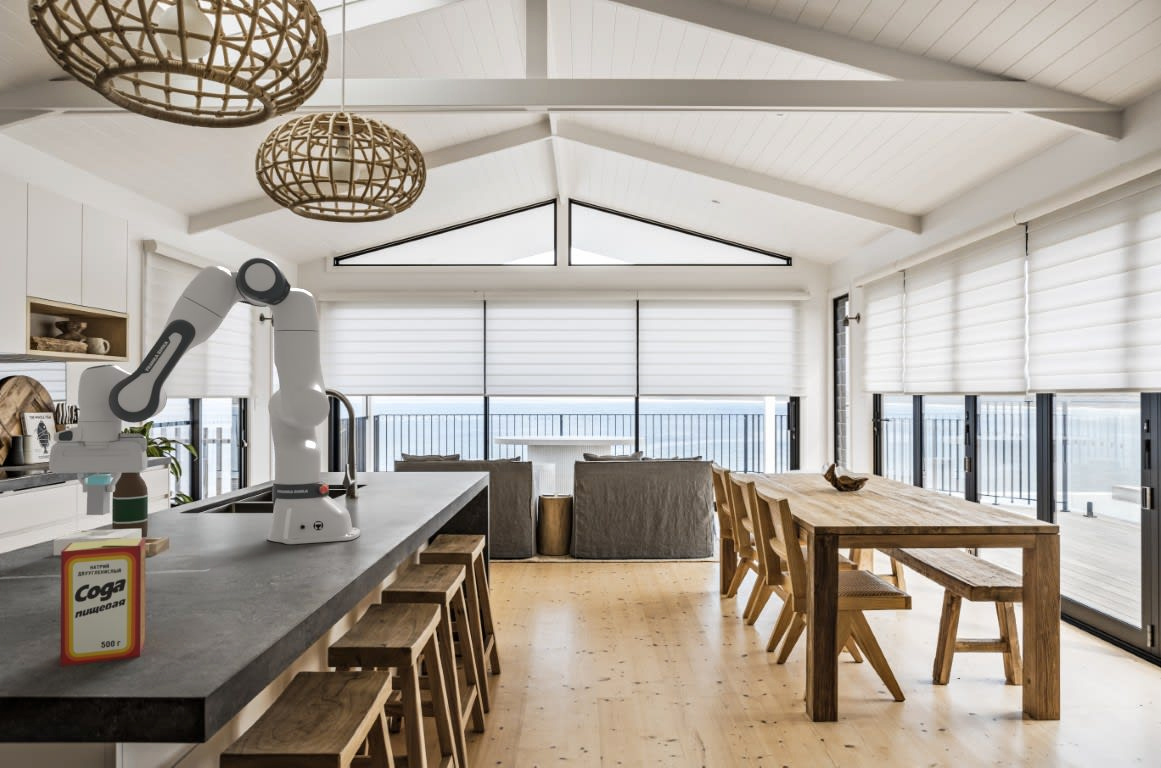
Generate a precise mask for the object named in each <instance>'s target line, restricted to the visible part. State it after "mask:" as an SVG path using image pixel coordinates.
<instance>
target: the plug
mask: <svg viewBox="0 0 1161 768" xmlns="http://www.w3.org/2000/svg"><path fill="white" fill-rule="evenodd" d="M111 479H112V477H111V474H93V475H88V477H87V481H88V484H87V492H86V495H87V496H86V516H104V515H106V514H110V507H111V502H110V500H111V492H106V491H105V489H106V485H107V484H110V482H111Z"/></svg>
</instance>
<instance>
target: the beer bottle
mask: <svg viewBox="0 0 1161 768" xmlns="http://www.w3.org/2000/svg"><path fill="white" fill-rule="evenodd" d="M148 495H149V494H148V487H147V484H146V482H145V480H144V479H143V478H142V476H141V472H128V473H121V477H120V478H119V480H118V481H117V483H116V484H115V492H112V496H111V497H112V499H111V500H112V502H111V503H112V513H111V515H112V516H111V517H112V522H111V523H112V524H111V525H112V526H111V529H142V538H148V530H149V529H148V528H149V527H148V526H149V525H148V523H149V522H148V520H149V519H148V518H149V517H148V515H149V511H148V510H149V508H148V507H149V504H148V503H149V501H148V500H149V499H148V498H149V496H148Z"/></svg>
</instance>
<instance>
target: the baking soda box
mask: <svg viewBox="0 0 1161 768" xmlns="http://www.w3.org/2000/svg"><path fill="white" fill-rule="evenodd" d="M146 538H147V537H143V538H131V539H108V540H107V541H93V542H78V543H70V544H69V545H68V546H67V547H66V548H64V549H63V550H62V551H61V555H60V661H59V662H60V665H59V666H60V667H65V666H67V667H68V666H73V665H81V664H91V663H96V662H97V663H99V662H107V661H114V660H121V659H123V660H124V659H129V658H138V657H141V655H142V653H143V650H144V647H145V645H146V556H145V549H146Z"/></svg>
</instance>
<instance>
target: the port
mask: <svg viewBox="0 0 1161 768" xmlns="http://www.w3.org/2000/svg"><path fill="white" fill-rule="evenodd" d="M131 538H142V529H112V528H111V529H81V530H78V529H77V531H73V532H71V533H68V534H66V535H63V536H60V537H57V538H55V539H53V556H61V551H62V550H63V549H64V548H66V547H67V546H68V545H69V544H70V543H78V542H93V541H107V540H108V539H131Z"/></svg>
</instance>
